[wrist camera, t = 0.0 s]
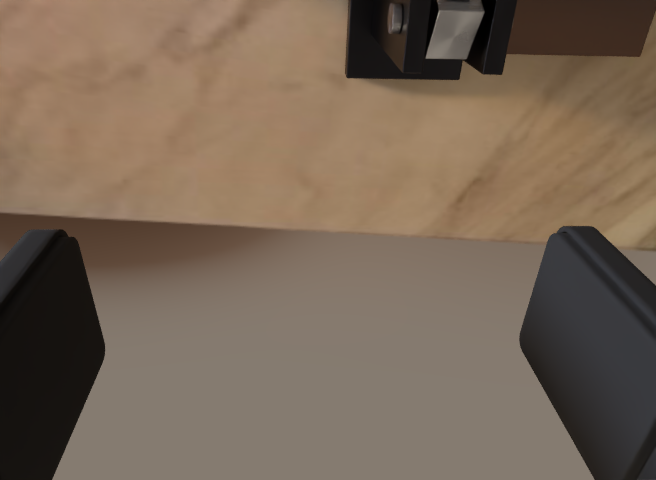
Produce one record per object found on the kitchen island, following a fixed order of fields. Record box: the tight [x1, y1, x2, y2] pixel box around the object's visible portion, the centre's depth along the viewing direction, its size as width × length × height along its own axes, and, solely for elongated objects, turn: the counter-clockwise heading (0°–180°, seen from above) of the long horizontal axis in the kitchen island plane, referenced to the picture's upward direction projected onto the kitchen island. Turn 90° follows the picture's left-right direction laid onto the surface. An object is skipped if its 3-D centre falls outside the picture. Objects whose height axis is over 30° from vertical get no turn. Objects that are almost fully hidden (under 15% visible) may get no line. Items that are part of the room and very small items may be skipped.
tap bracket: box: [345, 0, 517, 80], centre depth 28 cm, size 10×8×12 cm
